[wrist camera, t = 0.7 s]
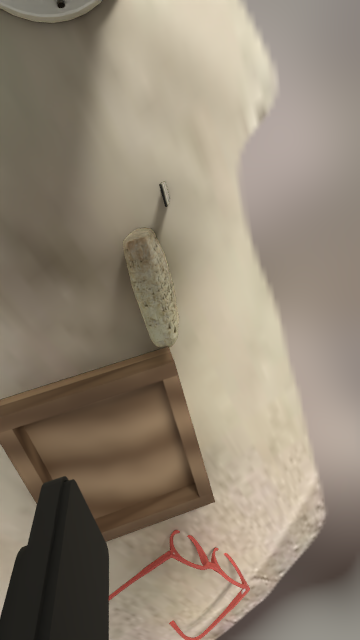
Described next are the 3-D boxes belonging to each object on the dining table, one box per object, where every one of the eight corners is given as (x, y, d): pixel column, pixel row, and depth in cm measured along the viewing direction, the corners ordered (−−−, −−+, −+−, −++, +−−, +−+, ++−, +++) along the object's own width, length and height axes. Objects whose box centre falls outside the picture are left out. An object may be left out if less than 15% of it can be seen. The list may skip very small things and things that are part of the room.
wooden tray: (-3, 400, 32) (-13, 421, 29) (168, 346, 34) (174, 361, 31) (70, 528, 40) (67, 555, 37) (207, 479, 41) (214, 501, 38)
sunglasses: (248, 555, 49) (263, 593, 44) (175, 622, 51) (182, 665, 47) (159, 512, 42) (166, 551, 38) (79, 591, 45) (76, 637, 40)
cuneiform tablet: (165, 181, 28) (199, 309, 33) (114, 196, 29) (155, 320, 33) (161, 183, 22) (204, 343, 26) (95, 202, 22) (149, 356, 27)
